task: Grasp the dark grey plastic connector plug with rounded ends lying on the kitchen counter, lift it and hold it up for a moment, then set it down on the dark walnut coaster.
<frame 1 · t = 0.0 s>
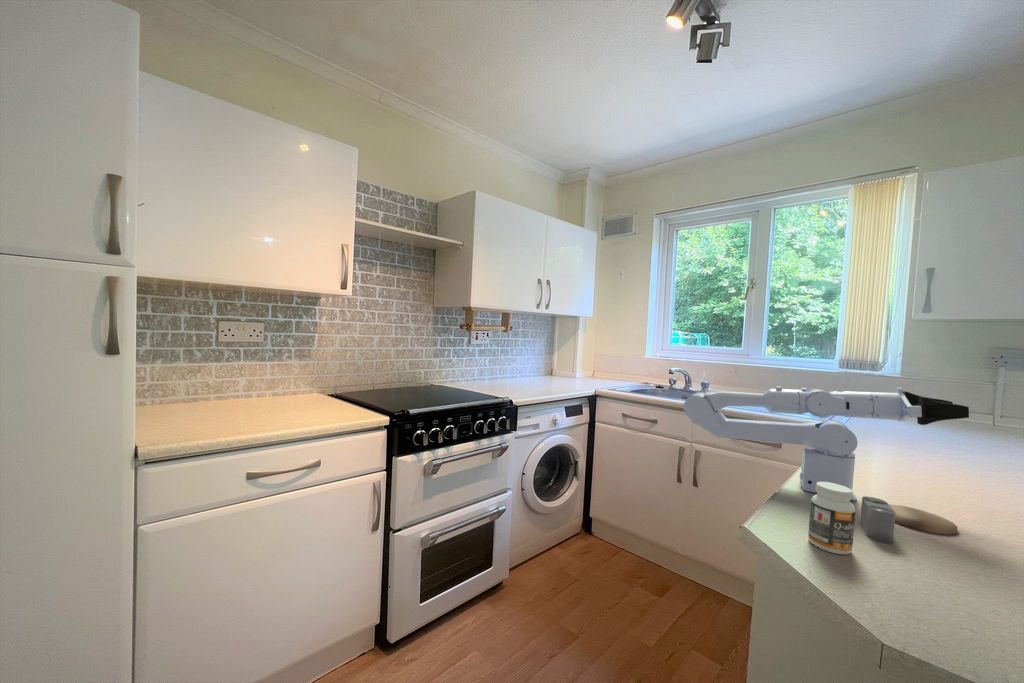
hand: (959, 409, 81), 22 cm above the worktop, tool horizontal, fingers open, 7 cm apart
pill bottle: (829, 547, 67), on the worktop
grey connector plug: (875, 532, 73), on the worktop
walnut coaster: (915, 520, 79), on the worktop
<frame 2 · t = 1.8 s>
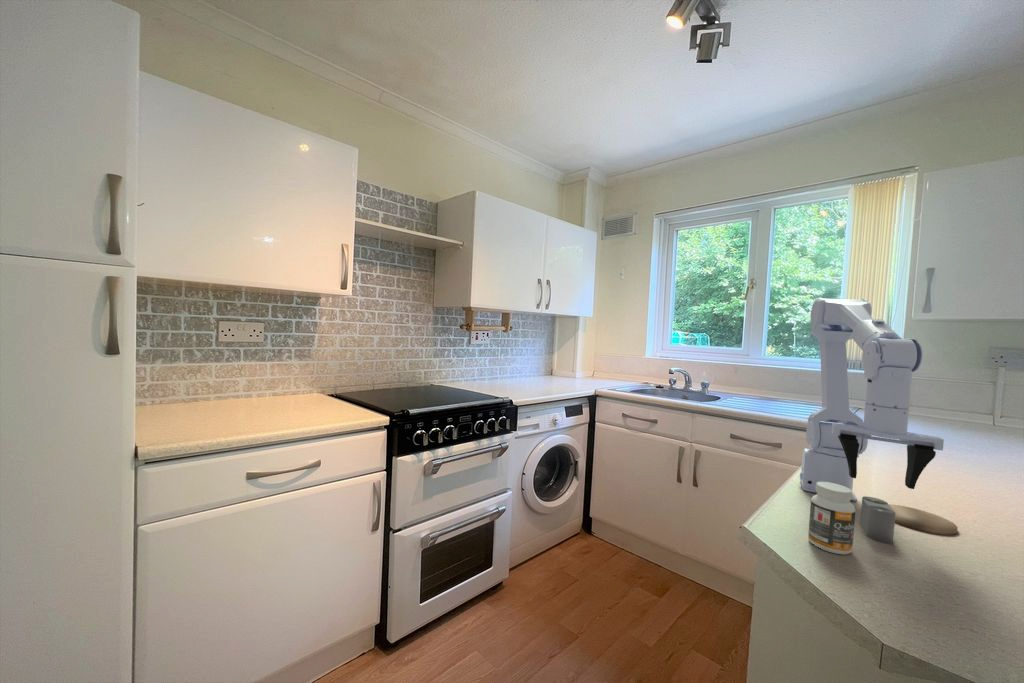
hand: (880, 481, 72), 9 cm above the worktop, tool pointing down, fingers open, 7 cm apart
nothing on the worktop moved.
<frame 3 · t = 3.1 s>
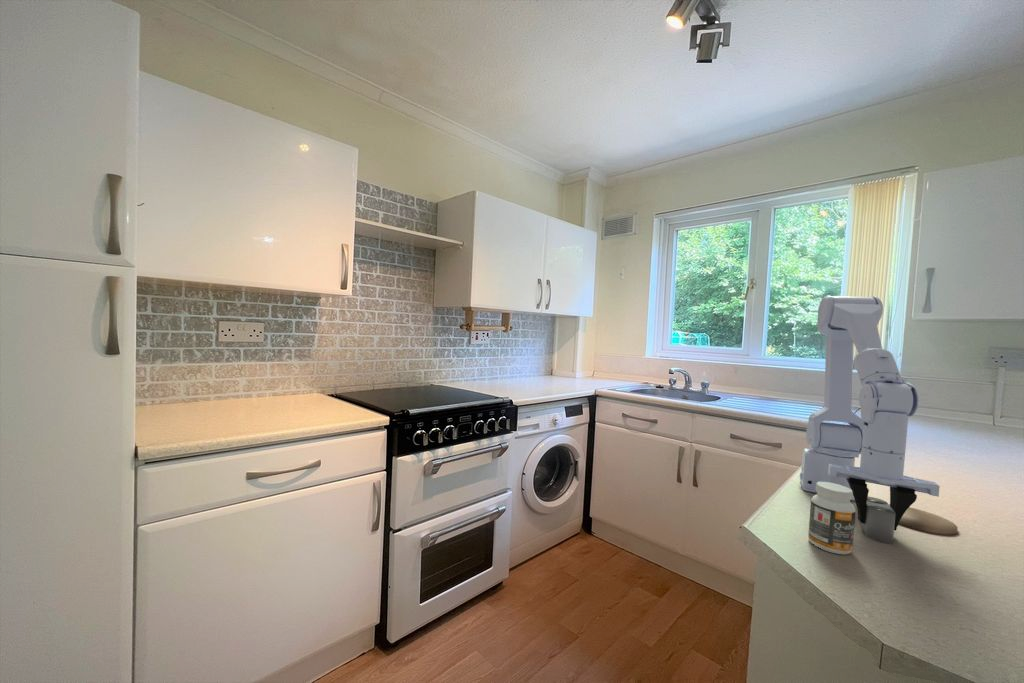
hand: (876, 524, 73), 1 cm above the worktop, tool pointing down, fingers closed on grey connector plug, 3 cm apart
grey connector plug: (875, 532, 73), on the worktop, touching gripper
everything else where it was.
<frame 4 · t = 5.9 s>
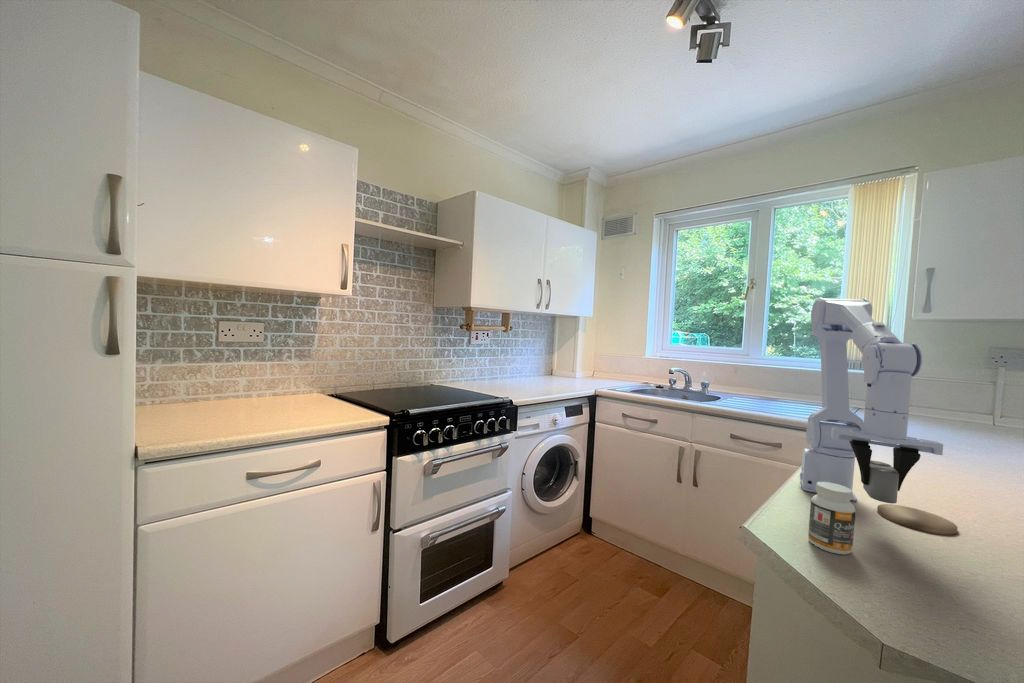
hand: (879, 486, 72), 8 cm above the worktop, tool pointing down, fingers closed on grey connector plug, 3 cm apart
grey connector plug: (879, 494, 72), point 7 cm above the worktop, touching gripper
everything else where it was.
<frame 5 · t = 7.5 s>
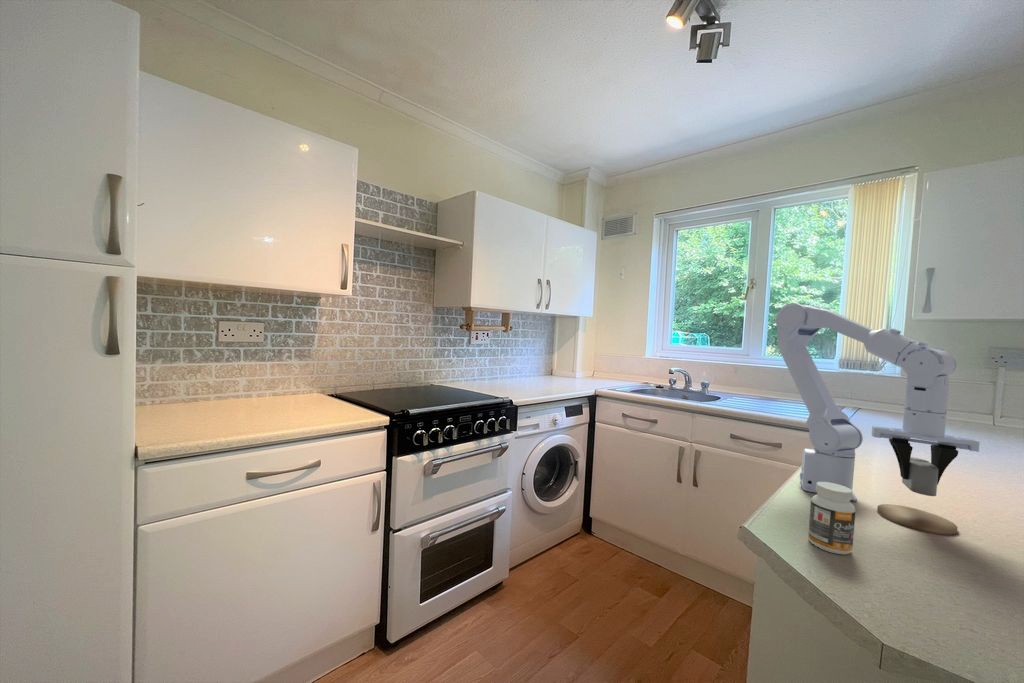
hand: (918, 480, 78), 8 cm above the worktop, tool pointing down, fingers closed on grey connector plug, 3 cm apart
grey connector plug: (918, 488, 78), point 6 cm above the worktop, touching gripper
everything else where it was.
when the fingers open (3 cm above the worktop, at t = 8.8 s): grey connector plug drops 1 cm, resting on walnut coaster.
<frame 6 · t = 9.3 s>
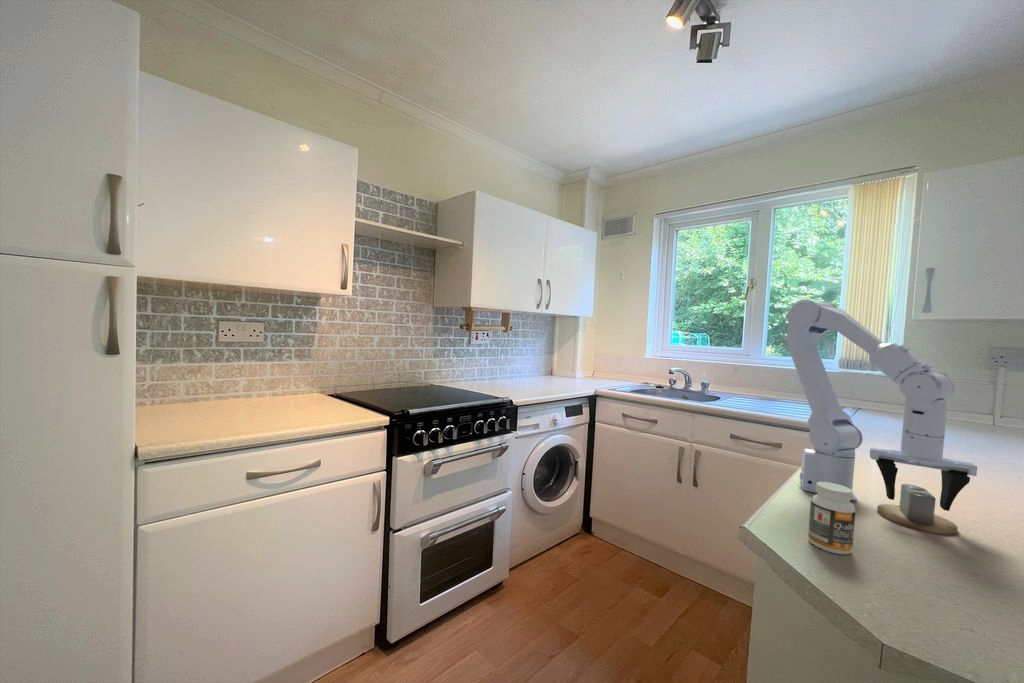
hand: (916, 503, 79), 3 cm above the worktop, tool pointing down, fingers open, 7 cm apart
grey connector plug: (915, 516, 79), point 1 cm above the worktop, touching walnut coaster
everything else where it was.
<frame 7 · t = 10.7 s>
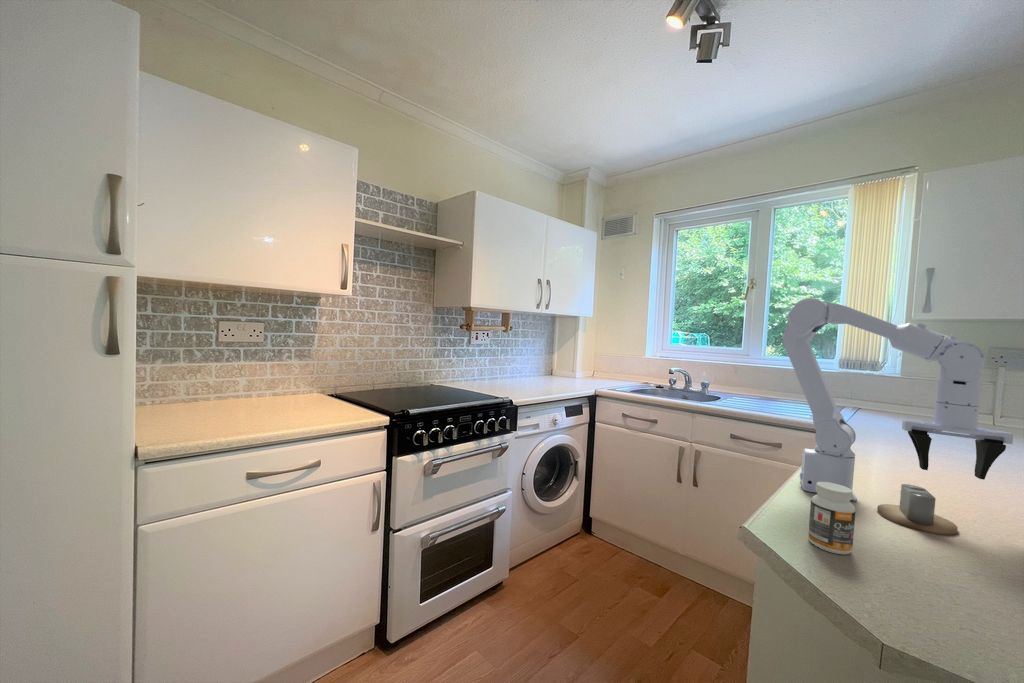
hand: (950, 473, 79), 9 cm above the worktop, tool pointing down, fingers open, 7 cm apart
nothing on the worktop moved.
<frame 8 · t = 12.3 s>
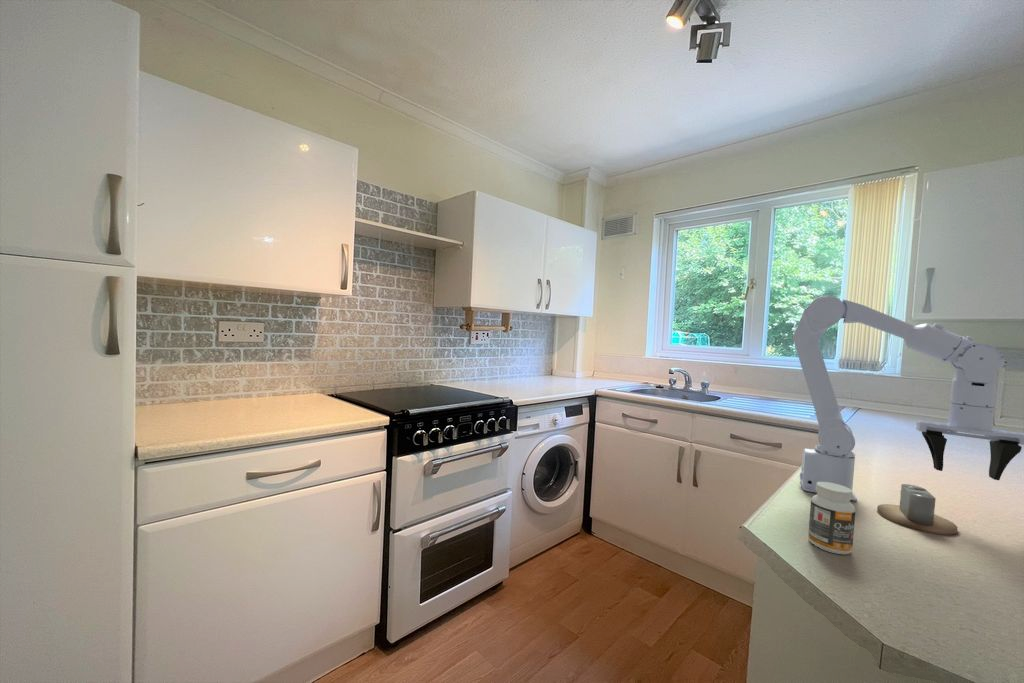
hand: (965, 473, 79), 9 cm above the worktop, tool pointing down, fingers open, 7 cm apart
nothing on the worktop moved.
at the end: grey connector plug 0.1 cm from the walnut coaster (horizontally); grey connector plug touching walnut coaster; the gripper is holding nothing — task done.
